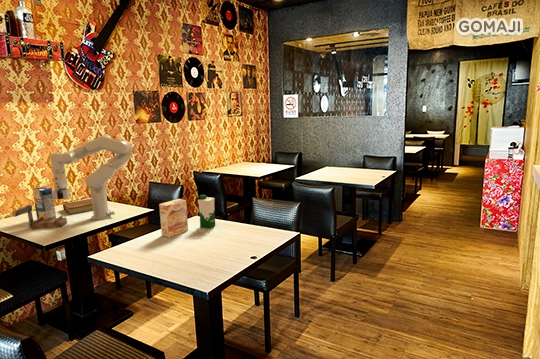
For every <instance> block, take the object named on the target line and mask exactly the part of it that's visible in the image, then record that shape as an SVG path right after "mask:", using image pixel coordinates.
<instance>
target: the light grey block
mask: <svg viewBox="0 0 540 359" xmlns="http://www.w3.org/2000/svg"><path fill="white" fill-rule="evenodd" d="M58 189H60V188H58ZM52 192H53V199H54V200H59V199H58V197H57V192H56V190H55V189H52ZM62 194H63V199H62V200H68V199H69V198H71V197H72V196H71V189H70V188H69V187H68V188H67V187H66V188H63V189H62Z"/></svg>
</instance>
